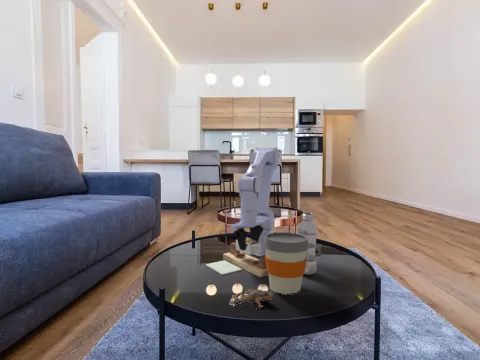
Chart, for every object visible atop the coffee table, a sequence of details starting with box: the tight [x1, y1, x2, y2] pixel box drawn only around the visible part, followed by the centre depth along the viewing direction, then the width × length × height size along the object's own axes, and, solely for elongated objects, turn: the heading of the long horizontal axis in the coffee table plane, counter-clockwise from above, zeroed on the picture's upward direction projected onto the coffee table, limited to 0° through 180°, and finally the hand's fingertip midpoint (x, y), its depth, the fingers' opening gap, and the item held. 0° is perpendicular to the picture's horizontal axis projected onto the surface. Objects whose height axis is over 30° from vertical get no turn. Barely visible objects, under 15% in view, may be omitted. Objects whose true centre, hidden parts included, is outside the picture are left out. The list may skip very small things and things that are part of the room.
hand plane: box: [222, 242, 269, 278], centre depth 103 cm, size 7×22×6 cm, turn 36°
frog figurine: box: [228, 288, 274, 307], centre depth 76 cm, size 12×12×4 cm
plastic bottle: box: [297, 212, 318, 276], centre depth 96 cm, size 6×7×20 cm
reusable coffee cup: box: [264, 231, 308, 295], centre depth 84 cm, size 13×13×15 cm
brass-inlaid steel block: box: [235, 237, 261, 256], centre depth 103 cm, size 5×8×4 cm, turn 39°
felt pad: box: [205, 259, 243, 276], centre depth 100 cm, size 8×11×1 cm
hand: (248, 248), depth 103 cm, fingers closed on brass-inlaid steel block, 5 cm apart
